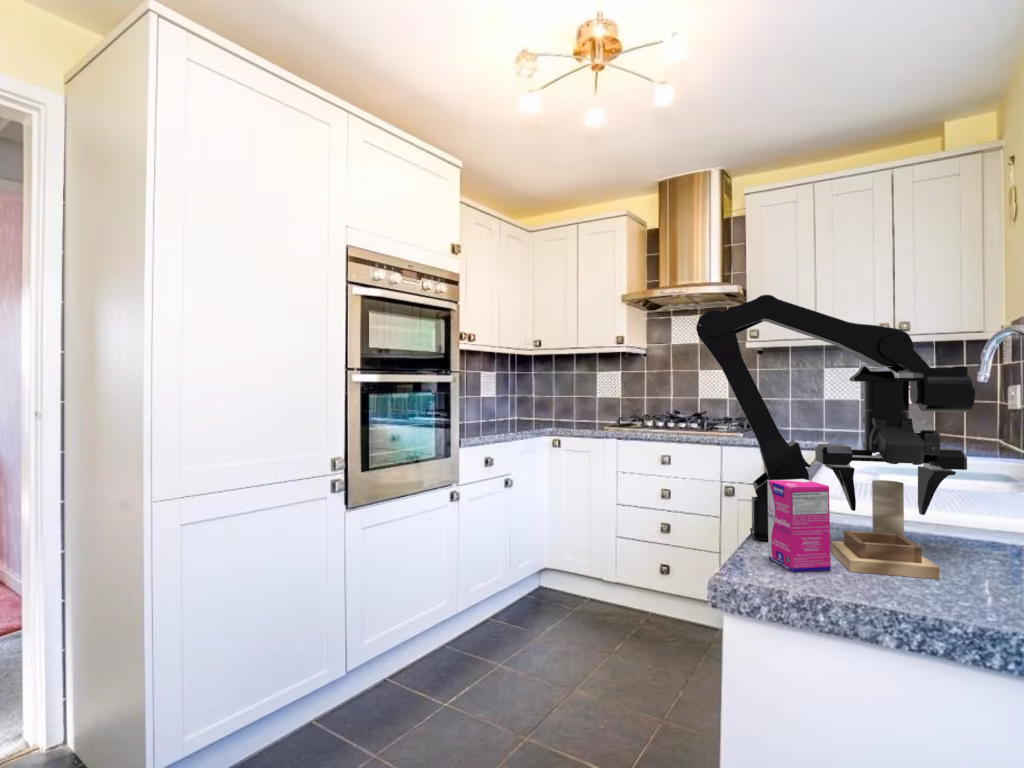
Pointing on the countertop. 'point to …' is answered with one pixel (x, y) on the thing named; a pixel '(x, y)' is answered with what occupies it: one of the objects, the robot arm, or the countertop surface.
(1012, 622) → the countertop surface
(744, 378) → the robot arm
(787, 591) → the countertop surface
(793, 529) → the supplement box
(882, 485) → the stool leg
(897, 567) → the seat board
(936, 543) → the countertop surface
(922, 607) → the countertop surface
